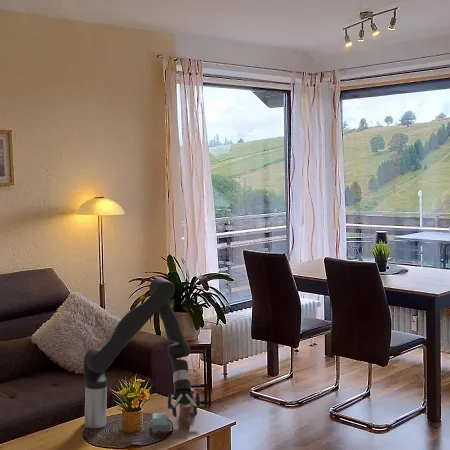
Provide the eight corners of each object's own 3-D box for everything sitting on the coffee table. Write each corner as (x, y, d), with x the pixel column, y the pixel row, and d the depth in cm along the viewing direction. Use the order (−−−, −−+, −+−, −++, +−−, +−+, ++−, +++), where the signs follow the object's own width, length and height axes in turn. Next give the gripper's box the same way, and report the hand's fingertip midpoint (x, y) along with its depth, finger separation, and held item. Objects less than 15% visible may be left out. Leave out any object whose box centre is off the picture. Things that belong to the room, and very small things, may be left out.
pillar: (180, 429, 291) (181, 406, 291) (179, 426, 295) (179, 403, 295) (189, 429, 292) (190, 406, 292) (188, 425, 296) (188, 403, 295)
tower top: (152, 425, 288) (152, 418, 288) (152, 420, 294) (152, 413, 294) (166, 425, 289) (166, 418, 289) (166, 420, 295) (166, 413, 294)
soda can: (196, 412, 313) (197, 387, 313) (194, 417, 306) (194, 391, 305) (181, 411, 314) (182, 386, 313) (178, 416, 307) (179, 390, 306)
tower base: (152, 433, 287) (152, 426, 287) (150, 427, 294) (150, 420, 294) (168, 432, 289) (168, 425, 288) (166, 426, 295) (166, 419, 295)
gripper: (167, 379, 299) (170, 413, 288) (198, 377, 302) (202, 411, 292) (165, 387, 304) (168, 420, 294) (196, 385, 307) (200, 419, 297)
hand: (185, 416), depth 293 cm, fingers open, 8 cm apart
